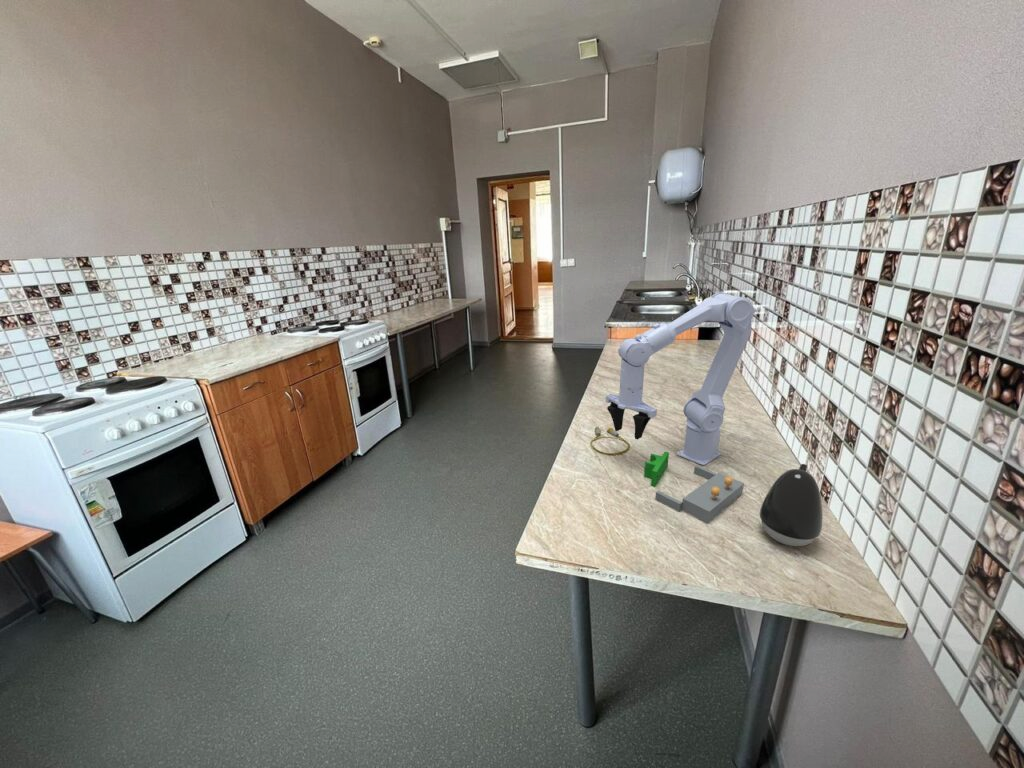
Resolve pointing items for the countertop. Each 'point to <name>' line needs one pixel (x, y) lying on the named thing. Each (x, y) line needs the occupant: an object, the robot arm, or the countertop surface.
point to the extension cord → (612, 432)
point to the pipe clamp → (656, 467)
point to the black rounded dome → (793, 508)
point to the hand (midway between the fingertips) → (628, 433)
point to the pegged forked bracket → (706, 495)
